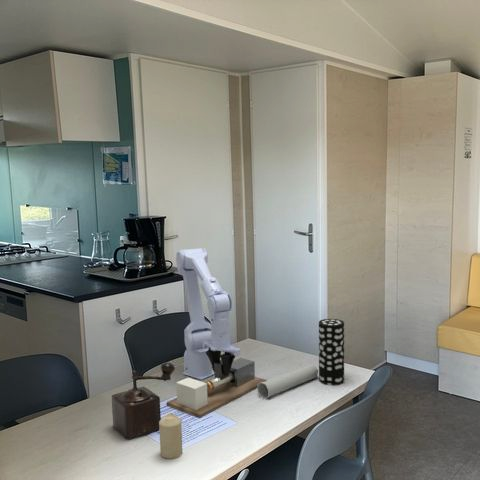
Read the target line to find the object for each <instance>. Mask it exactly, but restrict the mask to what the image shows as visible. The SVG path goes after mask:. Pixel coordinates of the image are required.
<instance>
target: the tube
mask: <svg viewBox="0 0 480 480" xmlns="http://www.w3.org/2000/svg"><path fill="white" fill-rule="evenodd" d="M318 376H319V368H317V367H316V365H313V364H308V365H305V366H303V367H300V368H296V369H295V370H292V371H289V372H286V373H284V374H281V375H279V376H276V377H273V378H270V379H267V381H265V382H261V383H259V384H257V388H256V390H257V391H256V392H257V393H258V395H259V397H260V398H263V399H265V400H267V399H268V398H269V397H272V396H274V395H277V394H279V393H282V392H284V391H286V390H289V389H291V388H294V387H296V386H300V385H301V384H304V383H307V382H308V381H311V380H314V379H316V378H317V377H318Z"/></svg>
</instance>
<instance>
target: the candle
mask: <svg viewBox="0 0 480 480" xmlns="http://www.w3.org/2000/svg"><path fill="white" fill-rule="evenodd" d="M158 430H159V442H160V443H159V445H160V446H159V447H160V449H159V450H160V456H161V457H163V458H164V459H170V460H171V459H176V458H178V457H180V456H182V454H183V433H182V432H183V431H182V430H183V429H182V419H181V418H180V417H179V416H177V415H176V414H173V413H171V412H169V413H167V414H166V415H164V416H163V417H162V418H161V420H160V421H159V429H158Z"/></svg>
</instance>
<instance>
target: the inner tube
mask: <svg viewBox="0 0 480 480" xmlns="http://www.w3.org/2000/svg"><path fill="white" fill-rule="evenodd" d="M232 380H235V372H234V371H230V374H228V375H226V376H225V375H224V373H223V364H222V360H221V359H220V360H219V361H217V362H215V363H214V377H213V378H212V379H210V380H207V381H205V382H204V383H207V392H210V391H212V390H214V389H216V388H218V387H220V386H222V385H224V384H226V383H228V382H230V381H232Z"/></svg>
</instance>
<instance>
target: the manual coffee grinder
mask: <svg viewBox="0 0 480 480" xmlns="http://www.w3.org/2000/svg"><path fill="white" fill-rule="evenodd" d="M175 369H176V368H175V365H174V364H173V363H170V362H163V363H162V364H161V365H160V370H161V373H162V374H161V376H156V375H143V376H142V375H141V376H137V371H136V370H132V372H131V379H132V386H133V387H132V388H130V389H127V390H125V391H122V392H117V393H115V394H111V410H112V411H111V412H112V413H111V414H112V427H113V428H114V429H115V430H116V431H117V432H118V433H119V434H120V435H121V436H122V437H123V438H125V440H128V441H129V440H132V439H136V438H140V437H143V436H146V435H148V434H150V433H153V432H156V431H158V430H159V421H160V420H161V419H162V418H161V415H162V414H161V398H160V396H159V395H158V394H156V393H155V392H153V391H152V390H151V389H149V388H147V387H146V386H140V387H138V385H137V380H140V381H141V380H158V381H164V382H166V381H170V380H171V375H172V373H174V372H175Z"/></svg>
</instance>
